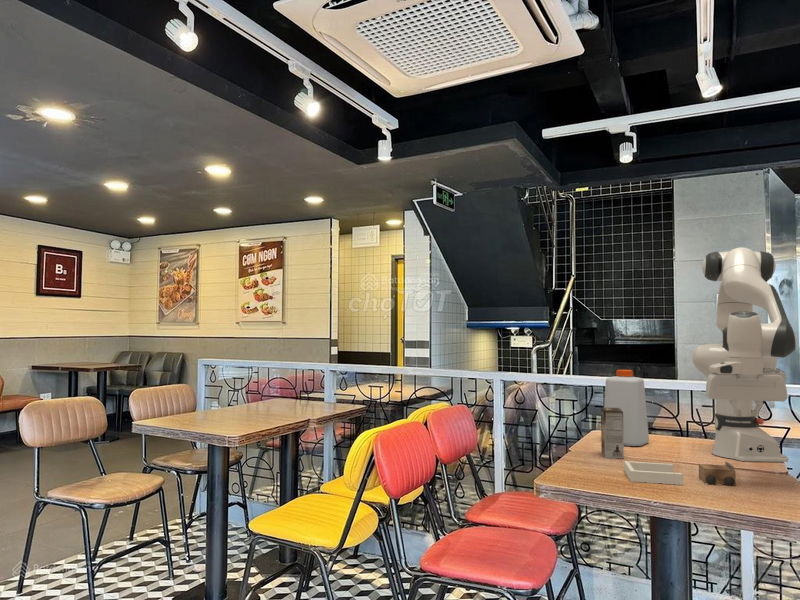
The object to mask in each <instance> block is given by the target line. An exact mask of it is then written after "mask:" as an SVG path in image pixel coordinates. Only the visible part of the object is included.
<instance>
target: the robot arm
mask: <svg viewBox="0 0 800 600" xmlns="http://www.w3.org/2000/svg"><path fill="white" fill-rule="evenodd" d="M701 268H702V273H703V275H704V278H706V279H707V280H708V281H712V282H717V281H718V282H720V285H719V289H718V293H717V294H718V295H717V303H716V306H717V307H716V327H717V328H718V330H720V331H721V333H722V343H706V344H701V345H698V346H697V347H696V348H694V350H693V353H692V363H693V364H694V367H695V368H696V369H697V371H699V372H700V373H702V375H704V376H705V377H706V384H705V395H706V396H707V398H709V399H711V400H715V407H716V408H715V410H716V411H715V412H716V413H714V427H715V428H714V429H715V435H714V438H715V439H714V444H713V448H712V450H711V454H713V455H715V456H717V457H721V458H727V459H732V460H737V461H740V462H741V461H742V462H761V463H762V462H764V463H766V462H769V463H770V462H771V463H788V462H789V457H788V456H786V455H785V454H784V453H783V454H782V453H781V449H780V448H781V447H780V445H779V442H778V441H777V440H776V439H775V437H773V436H771V435H770V434H769V433H767V431H765V430H763V429H762V428H761V427H760V425H764V423H765V420H764V419H763V418H759V416H760V410H761V409H762V407H763V406H764V402H781V403H782V402H783V403H784V402H785V401H787V399H788V390H787V389H788V388H787V385H786V383H787V374H786V373H787V372H785V371H784V370H782V369H781V368H776V367H777V363H778V359H777V358H786V357H788V356H790V355H791V354H792V353H794V352H795V351H796V347H797V336H796V333H795V331H794V330H793V327H792V325H791V323H790V321H789V319H788V316H787V314H786V311H785V308H784V305H783V303H782V300H781V297H780V295H779V293H778V290H777V289H776V287H775V286H774V285H773V284H770V283H769V282H768V281H769V280H770V279H772V278H773V276H774V273H775V271H776V269H777V268H776V261H775V259H774V255H773V254H772V253H770V252H767V251H761V250H759V251H754V250H753V249H751V248H748V247H742V246H741V247H736V248H733V249H731V250H729V251H713V252H709V253H708V254H706V255H705V257H704V259H703V261H702V264H701ZM754 306H755V307H756V306H757V307H758V308H759V307H760V308H762V309H764V310H765V311H766V312H767V315H768V318H769V321H770V322H769V323H762V322H761V317H760V315H759V313H757V312H755V311H753V309H754V308H753V307H754ZM753 401H754V404H755V407H754V406H753ZM753 407H754V408H753Z"/></svg>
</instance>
